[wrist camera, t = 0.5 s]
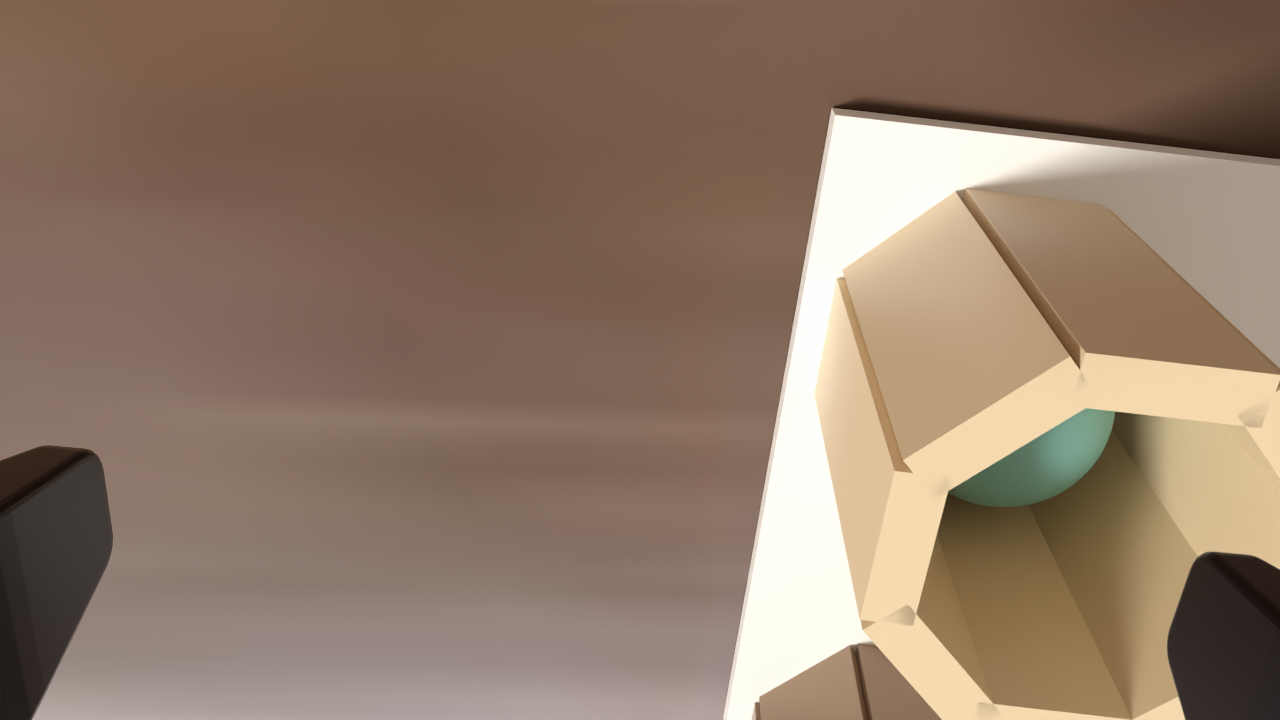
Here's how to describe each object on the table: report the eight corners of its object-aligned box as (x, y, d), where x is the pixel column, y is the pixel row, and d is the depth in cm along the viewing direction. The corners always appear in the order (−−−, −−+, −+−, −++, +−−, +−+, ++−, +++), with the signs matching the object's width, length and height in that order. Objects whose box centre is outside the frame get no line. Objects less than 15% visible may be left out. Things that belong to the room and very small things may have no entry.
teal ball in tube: (1048, 450, 24) (1110, 562, 20) (860, 428, 24) (888, 536, 20) (1101, 274, 22) (1179, 362, 19) (898, 251, 22) (937, 334, 18)
